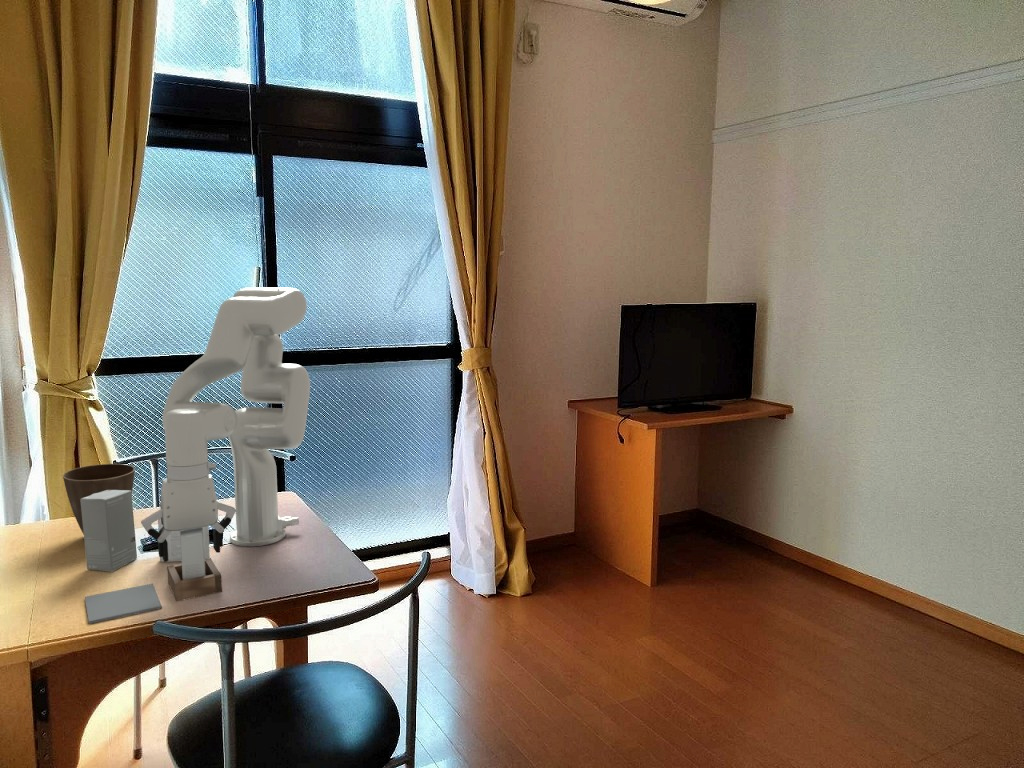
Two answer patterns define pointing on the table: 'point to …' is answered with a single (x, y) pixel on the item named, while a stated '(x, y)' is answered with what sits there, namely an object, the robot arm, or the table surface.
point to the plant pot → (96, 483)
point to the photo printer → (175, 545)
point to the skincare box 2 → (192, 553)
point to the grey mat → (122, 603)
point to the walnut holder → (194, 582)
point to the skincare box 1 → (108, 529)
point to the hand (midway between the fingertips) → (191, 555)
